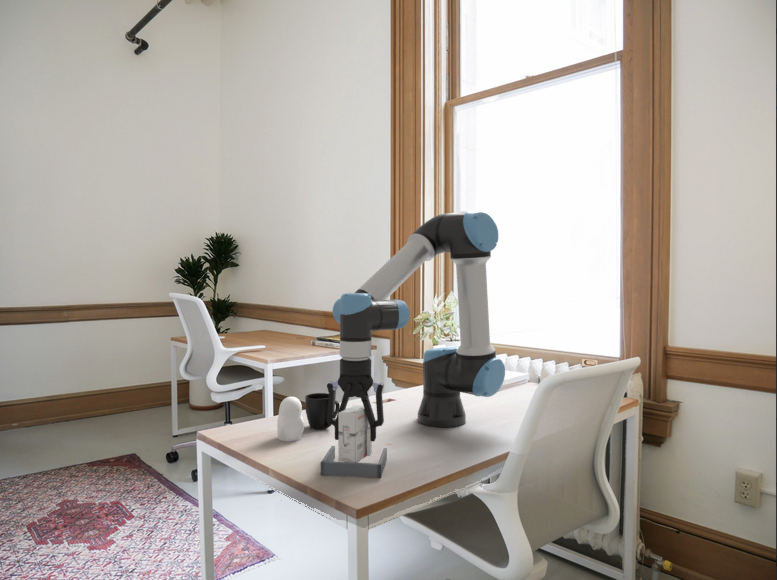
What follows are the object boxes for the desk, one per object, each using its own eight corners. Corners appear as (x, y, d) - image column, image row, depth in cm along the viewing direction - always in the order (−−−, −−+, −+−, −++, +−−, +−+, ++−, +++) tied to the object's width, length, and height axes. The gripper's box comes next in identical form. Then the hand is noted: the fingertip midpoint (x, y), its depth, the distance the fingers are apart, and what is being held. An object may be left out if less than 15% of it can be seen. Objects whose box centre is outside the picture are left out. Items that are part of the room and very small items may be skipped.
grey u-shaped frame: (386, 459, 137) (386, 448, 137) (380, 477, 125) (380, 464, 125) (331, 457, 139) (331, 445, 139) (320, 475, 127) (320, 462, 127)
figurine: (281, 444, 149) (281, 400, 149) (273, 436, 156) (273, 394, 156) (306, 440, 153) (306, 397, 152) (297, 433, 159) (297, 392, 159)
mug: (327, 435, 157) (327, 402, 157) (299, 427, 165) (299, 396, 165) (347, 429, 164) (347, 397, 163) (319, 421, 171) (319, 391, 171)
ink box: (355, 450, 137) (355, 403, 136) (372, 453, 135) (372, 405, 134) (337, 461, 129) (337, 411, 129) (355, 464, 127) (355, 413, 127)
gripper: (396, 356, 134) (396, 450, 135) (320, 354, 136) (320, 447, 137) (393, 361, 126) (393, 460, 127) (312, 359, 128) (312, 457, 129)
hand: (355, 453), depth 132 cm, fingers closed on ink box, 6 cm apart
